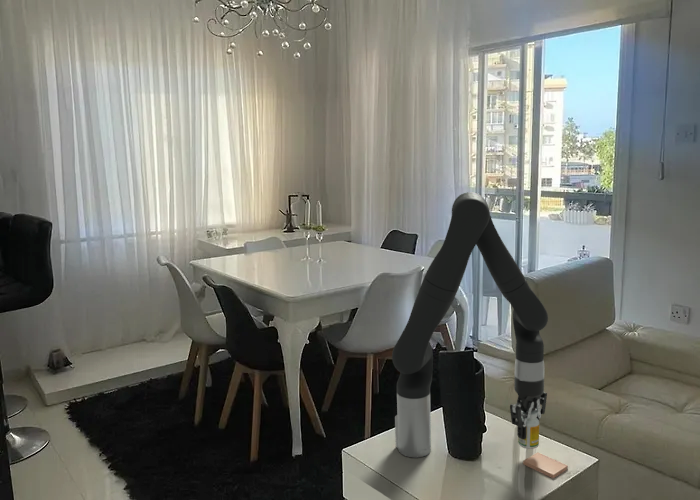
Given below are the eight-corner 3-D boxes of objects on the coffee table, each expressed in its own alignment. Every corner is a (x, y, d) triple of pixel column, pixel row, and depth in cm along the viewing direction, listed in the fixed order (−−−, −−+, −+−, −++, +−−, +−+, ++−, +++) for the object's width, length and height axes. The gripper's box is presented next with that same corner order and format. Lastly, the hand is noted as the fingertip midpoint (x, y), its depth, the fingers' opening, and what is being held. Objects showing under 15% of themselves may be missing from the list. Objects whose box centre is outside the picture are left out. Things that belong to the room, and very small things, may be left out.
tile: (523, 460, 154) (553, 474, 146) (537, 452, 157) (567, 465, 150) (523, 465, 154) (553, 480, 147) (537, 457, 158) (567, 470, 151)
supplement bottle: (517, 448, 154) (517, 414, 153) (518, 438, 159) (519, 405, 158) (538, 450, 152) (539, 416, 151) (539, 441, 157) (539, 408, 156)
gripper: (532, 364, 160) (531, 421, 163) (500, 378, 151) (500, 438, 154) (557, 371, 154) (555, 430, 157) (525, 386, 145) (525, 448, 148)
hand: (528, 434), depth 155 cm, fingers closed on supplement bottle, 5 cm apart
